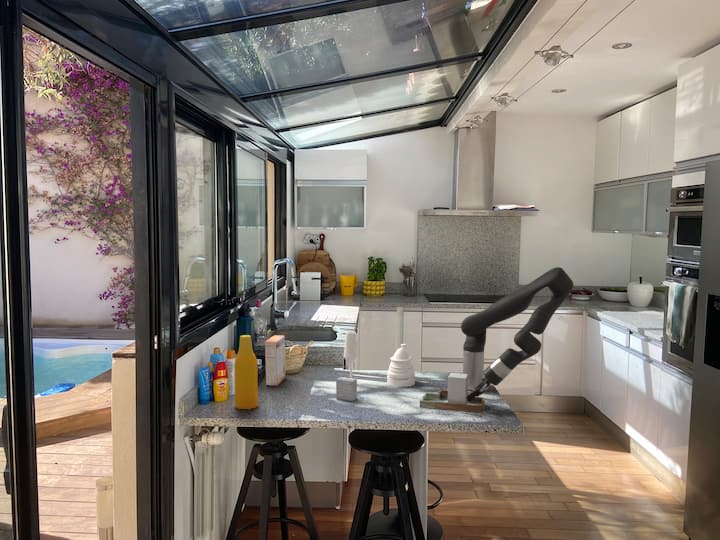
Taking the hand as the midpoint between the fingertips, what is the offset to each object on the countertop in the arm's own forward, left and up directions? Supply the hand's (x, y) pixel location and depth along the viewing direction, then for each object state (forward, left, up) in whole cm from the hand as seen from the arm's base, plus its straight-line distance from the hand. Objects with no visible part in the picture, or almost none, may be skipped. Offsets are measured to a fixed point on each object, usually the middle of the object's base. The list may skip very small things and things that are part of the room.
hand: (468, 399), depth 225 cm
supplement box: (0, -4, -3) cm, 5 cm away
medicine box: (+4, -51, -3) cm, 51 cm away
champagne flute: (-18, -56, -3) cm, 58 cm away
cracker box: (-11, -91, -3) cm, 91 cm away
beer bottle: (+25, -87, -3) cm, 90 cm away
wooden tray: (-3, -6, -3) cm, 8 cm away
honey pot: (-26, -34, -3) cm, 42 cm away
